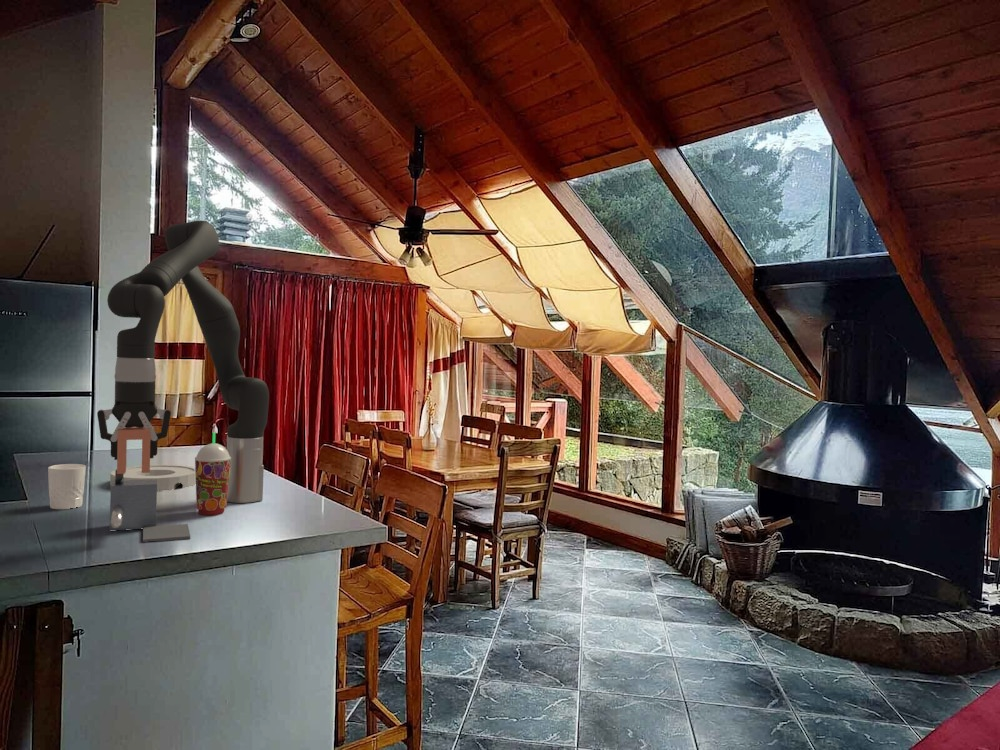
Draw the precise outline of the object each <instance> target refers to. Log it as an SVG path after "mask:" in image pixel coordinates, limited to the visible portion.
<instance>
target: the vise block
mask: <svg viewBox="0 0 1000 750" xmlns="http://www.w3.org/2000/svg"><path fill="white" fill-rule="evenodd" d="M115 470H116V471H115V481H112V484H111V486H110V500H109V501H110V502H109V505H110V506H109V531H110V530H126V529H141V528H143V527H149V526H157V505H158V504H157V502H158V501H157V499H158V497H157V496H158V491H157V479H155V480H128V481H123V478H124V474H117V469H115Z"/></svg>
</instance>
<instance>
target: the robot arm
mask: <svg viewBox="0 0 1000 750" xmlns="http://www.w3.org/2000/svg"><path fill="white" fill-rule="evenodd" d="M218 234H219V233H218V232H217V231H216V228H215V226H213V224H211V222H208V221H206V220H193V221H187V222H184V223H183V222H182V223H178V224H177V223H176V224H172V225H169V226H167V228H166V230H165V233H164V237H165V238H164V239H165V243H166V247H167V250H168V251H166V252H164V253H162V254H160V255H158V256H157V257H156V258H153V260H152V259H151V261H150V262H149V263H147V265H145V266H144V267H143V269H142V270H141V271H139V272H138V273H135V274H132V275H130V276H128V277H125V278H123V279H122V280H120V281H118V282H117V283H115V284H114V285H113V286H112V288H111V289H110V290H109V292H108V294H107V307H108V309H109V310H110V311H111V313H112V314H113V315H115V316H117V317H120V318H130V319H131V318H134V319H135V318H137V319H139V321H138V323H137V325H136V326H135V327H133V328H125V329H122V330H120V331H118V333H117V336H116V337H117V339H116V362H115V366H114V367H115V369H114V405H113V407H112V408H109V409H99V410H98V411H97V413H96V414H97V421H98V429H99V436H100V438H101V439H102V440H107V441H109V442H110V456H111V458H114V460H115V461H117V444H118V430H123V429H124V427H126V428H131V427H138V428H143V427H145V428H146V429H151V431H150V459H154V457H156V456H157V455H158V442H159V440H161V439H165V438H167V436H168V430H169V426H170V419H171V414H172V413H171V412H172V411H171V410H170V409H169V408H166V409H162V408H161V409H160V408H158V407H157V406H156V378H157V375H156V371H157V370H156V362H155V360H156V359H155V352H156V351H155V350H156V349H155V348H156V347H155V346H156V344H155V343H156V336H157V333H158V329H159V326H160V322H161V319H162V316H163V315H164V314H163V313H164V310H165V306H166V299H165V297H166V296H167V295H168V294H169V293H170V292H171V291H172V290H173V289H174V288H175V286H176V285H177V284H178V283H179V282H180V281H181V280H182V283H183V286H184V287H185V288H186V292H187V295H188V298H189V299H190V302H191V305H192V308H193V311H194V313H195V316H196V320H197V323H198V325H199V328H200V330H201V333H202V336H203V338H204V341H205V343H206V346H207V348H208V352H209V355H210V358H211V360H212V363H213V366H214V369H215V372H216V377H217V381H218V386H219V391H220V394H221V396H222V399H223V402H224V403H225V405H226V406H227V407H228V408H229V409H232V410H235V411H238V414H237V415H238V416H237V420H236V421H235V422H234V423H231V424H230V425H228V427H227V430H226V431H227V433H226V435H227V436H226V449H227V451H228V453H229V455H230V457H231V465H230V475H229V485H228V495H227V502H228V503H236V504H243V503H244V504H247V503H253V502H254V503H255V502H259V501H261V502H262V501H263V499H264V498H263V497H264V473H265V471H264V469H265V466H264V464H263V456H264V431H265V430H266V427H267V424H268V416H269V415H268V414H269V408H270V407H269V404H270V391H269V387H268V385H267V383H266V382H265V381H264V380H262V378H257V377H249V376H248V377H247V376H246V374H245V372H244V371H243V368H242V365H241V363H240V358H239V347H240V339H241V328H240V324H239V320H238V318H237V315H236V312H235V309H234V305H232V303H231V302H230V300H229V299H228V298H227V297H226V296H225V295H224V294H223V293H222V292H220V291H219V289H217V288H216V287H215V286H214V285H213V284H211V283H210V282H209V281H208V279H206V278H205V276H204V275H203V273H202V272H201V269H200V267H199V265H201V264H202V263H203V262H205V261H206V260H208V259H210V258H211V257H213V256H214V255H215V254H216V253H217V252H218V250H219V247H220V239H219V235H218ZM157 414H158V415H159V419H160V420H162V424H161V429H160V431H158V432H156V430H155V428H154V426H153V425H152V422H151V421H152V420H153V419H154V417H155V416H156V415H157ZM111 415H113V416H114V418H115V419H116V420H117V422H118V424H117V425H116V427H115V430H114V431H113V433H109V432H108V425H107V421H108V420H109V419H110V416H111Z"/></svg>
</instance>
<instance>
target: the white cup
mask: <svg viewBox="0 0 1000 750" xmlns="http://www.w3.org/2000/svg"><path fill="white" fill-rule="evenodd" d="M86 466H87V465H85V464H82V463H81V464H79V463H65V464H64V463H62V464H54V465H51V466H48V467H47V470H48V471H47V473H48V474H47V475H48V477H47V478H48V479H47V480H48V497H49V508H50V509H53V510H70V508H73V509H77V508H76V507H78V508H80V507H83V499H84V497H83V496H84V493H85V483H86V481H85V479H86V469H87V467H86Z"/></svg>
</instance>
